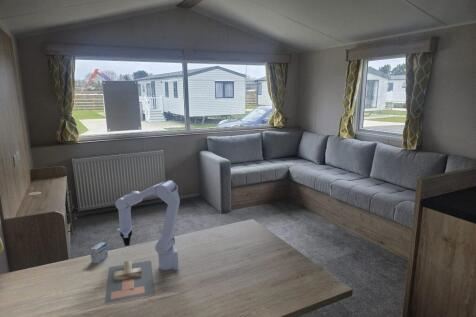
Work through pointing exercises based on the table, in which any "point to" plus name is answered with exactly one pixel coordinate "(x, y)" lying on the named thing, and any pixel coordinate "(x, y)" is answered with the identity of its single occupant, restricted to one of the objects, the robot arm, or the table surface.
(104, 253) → the medicine box
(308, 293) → the table surface
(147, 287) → the mat
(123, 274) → the t block
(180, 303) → the table surface
